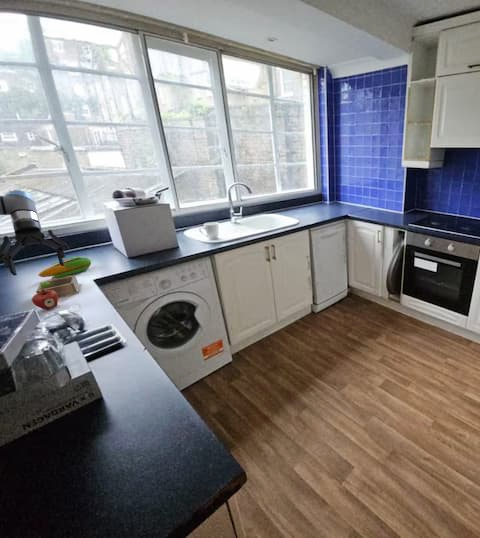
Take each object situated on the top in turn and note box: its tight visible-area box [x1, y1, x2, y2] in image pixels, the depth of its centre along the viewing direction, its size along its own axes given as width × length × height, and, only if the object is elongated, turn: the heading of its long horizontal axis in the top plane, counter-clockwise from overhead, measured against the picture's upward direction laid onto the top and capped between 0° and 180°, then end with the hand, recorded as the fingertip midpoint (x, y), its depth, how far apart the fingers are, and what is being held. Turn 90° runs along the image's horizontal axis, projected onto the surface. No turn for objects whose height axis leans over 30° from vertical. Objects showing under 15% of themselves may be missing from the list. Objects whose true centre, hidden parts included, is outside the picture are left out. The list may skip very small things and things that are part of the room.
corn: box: [38, 256, 92, 279], centre depth 143 cm, size 7×8×20 cm
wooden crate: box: [35, 274, 80, 299], centre depth 125 cm, size 11×11×5 cm
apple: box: [31, 281, 59, 311], centre depth 112 cm, size 8×7×10 cm
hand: (38, 269), depth 115 cm, fingers open, 13 cm apart
